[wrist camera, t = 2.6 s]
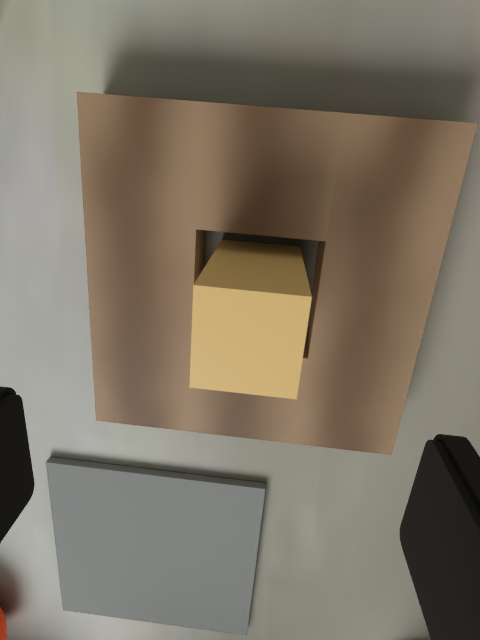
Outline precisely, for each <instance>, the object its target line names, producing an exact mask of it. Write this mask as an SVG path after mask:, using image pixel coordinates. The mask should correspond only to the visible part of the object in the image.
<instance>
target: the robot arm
mask: <svg viewBox="0 0 480 640" xmlns="http://www.w3.org/2000/svg"><path fill="white" fill-rule="evenodd" d="M33 490H34V477H33V470H32V464H31V457H30V450H29V443H28V436H27V430H26V423H25V416H24V409H23V402H22V398H21V397H20V396H19V395H16V392H15V391H14V389H12V388H8V387H0V543H1V541H2V540H3V538H4V537H5V535H6V534H7V532H8V531H9V529H10V528H11V526H12V525H13V524H14V522H15V521H16V519H17V518H18V516H19V515H20V513H21V512H22V510H23V509H24V507H25V506H26V505H27V503H28V502H29V500H30V498H31V496H32V494H33ZM400 541H401V545H402V549H403V552H404V555H405V558H406V561H407V565H408V568H409V571H410V574H411V577H412V581H413V584H414V587H415V590H416V593H417V596H418V600H419V603H420V606H421V609H422V612H423V616H424V619H425V622H426V625H427V628H428V632H429V635H430V638H431V640H480V457H479V455H478V454H477V452H476V451H475V449H474V448H473V446H472V445H471V443H470V442H469V440H468V439H467V438H465V437H461V436H452V435H442V434H438V435H436V436H435V438H434V440H428V441H427V442H426V444H425V447H424V450H423V454H422V457H421V460H420V464H419V467H418V470H417V473H416V477H415V480H414V483H413V486H412V490H411V493H410V496H409V500H408V503H407V506H406V509H405V513H404V516H403V519H402V522H401V526H400Z"/></svg>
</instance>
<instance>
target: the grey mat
mask: <svg viewBox="0 0 480 640" xmlns="http://www.w3.org/2000/svg"><path fill="white" fill-rule="evenodd" d="M46 467H47V476H48V484H49V493H50V502H51V510H52V519H53V527H54V536H55V545H56V553H57V562H58V570H59V579H60V588H61V596H62V605H63V610H67V611H74V612H81V613H88V614H95V615H103V616H110V617H117V618H124V619H131V620H139V621H146V622H153V623H160V624H167V625H175V626H182V627H189V628H196V629H203V630H211V631H218V632H225V633H232V634H239V635H246V636H247V629H248V622H249V614H250V606H251V598H252V590H253V582H254V575H255V567H256V559H257V551H258V543H259V536H260V528H261V520H262V512H263V504H264V497H265V488H266V483H261V482H253V481H245V480H236V479H228V478H220V477H212V476H203V475H195V474H187V473H179V472H170V471H162V470H154V469H146V468H138V467H129V466H121V465H113V464H105V463H96V462H88V461H80V460H72V459H63V458H55V457H50V458H49V459H48V460H47V462H46Z"/></svg>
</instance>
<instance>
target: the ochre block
mask: <svg viewBox="0 0 480 640" xmlns="http://www.w3.org/2000/svg"><path fill="white" fill-rule="evenodd" d="M311 300H312V295H311V291H310V286H309V282H308V278H307V274H306V269H305V265H304V261H303V257H302V252H301V248H300V247H297V246H286V245H276V244H265V243H255V242H244V241H233V240H223V239H222V240H221V242H220V243H219V245H218V247H217V248H216V250H215V251H214V253H213V255H212V256H211V258H210V259H209V261H208V262H207V264H206V266H205V267H204V269H203V270H202V272H201V274H200V275H199V277H198V278H197V280H196V282H195V283H194V285H193V306H192V332H191V359H190V385H189V388H198V389H207V390H216V391H225V392H234V393H243V394H252V395H261V396H270V397H279V398H288V399H297V394H298V387H299V380H300V374H301V367H302V360H303V354H304V347H305V340H306V334H307V327H308V320H309V313H310V307H311Z"/></svg>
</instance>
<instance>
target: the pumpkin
mask: <svg viewBox="0 0 480 640" xmlns="http://www.w3.org/2000/svg"><path fill="white" fill-rule="evenodd" d="M6 638H7V634H6V619H5V614H4V612H3V610H2V609H1V607H0V640H6Z"/></svg>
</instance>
